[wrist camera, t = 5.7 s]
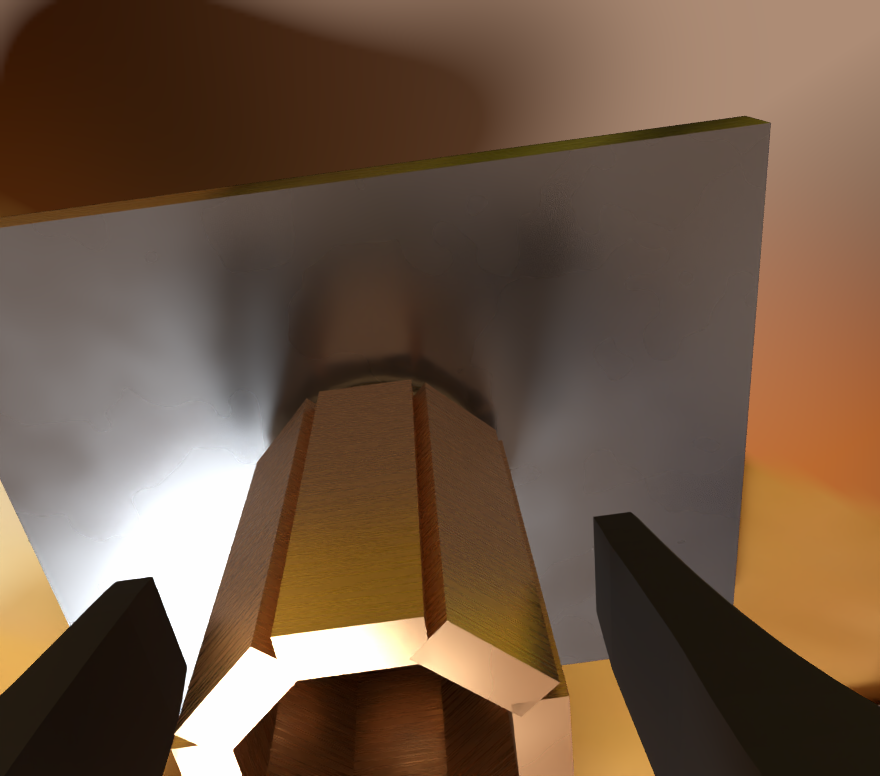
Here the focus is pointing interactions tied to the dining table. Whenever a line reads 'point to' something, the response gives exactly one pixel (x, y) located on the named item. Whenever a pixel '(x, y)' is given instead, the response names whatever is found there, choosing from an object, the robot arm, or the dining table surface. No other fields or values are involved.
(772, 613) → the dining table surface
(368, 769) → the brown hollow prism
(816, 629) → the dining table surface
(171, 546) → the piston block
